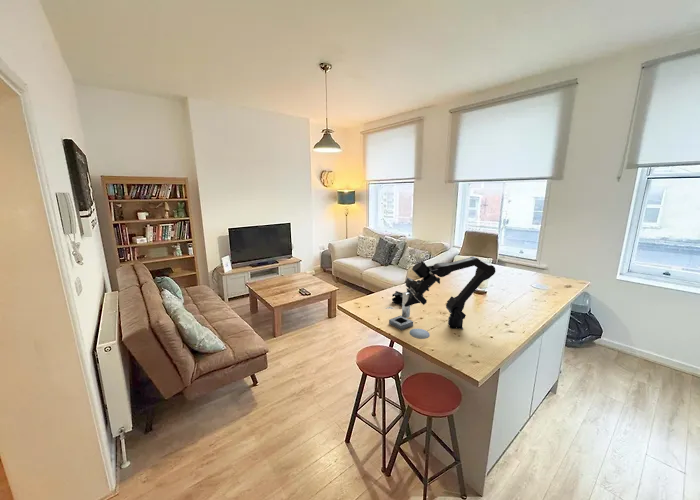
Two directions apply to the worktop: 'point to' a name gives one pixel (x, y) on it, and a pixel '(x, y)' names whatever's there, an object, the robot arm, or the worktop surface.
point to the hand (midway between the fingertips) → (403, 304)
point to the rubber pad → (419, 333)
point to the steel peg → (404, 309)
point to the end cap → (397, 298)
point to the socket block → (400, 322)
